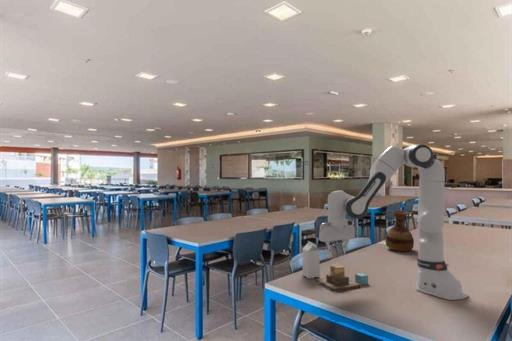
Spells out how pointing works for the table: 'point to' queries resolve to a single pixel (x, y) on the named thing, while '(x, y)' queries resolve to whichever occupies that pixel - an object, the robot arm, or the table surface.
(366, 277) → the teal cube
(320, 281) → the walnut base
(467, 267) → the table surface
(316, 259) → the milk carton
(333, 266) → the oak cube
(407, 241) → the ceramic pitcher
